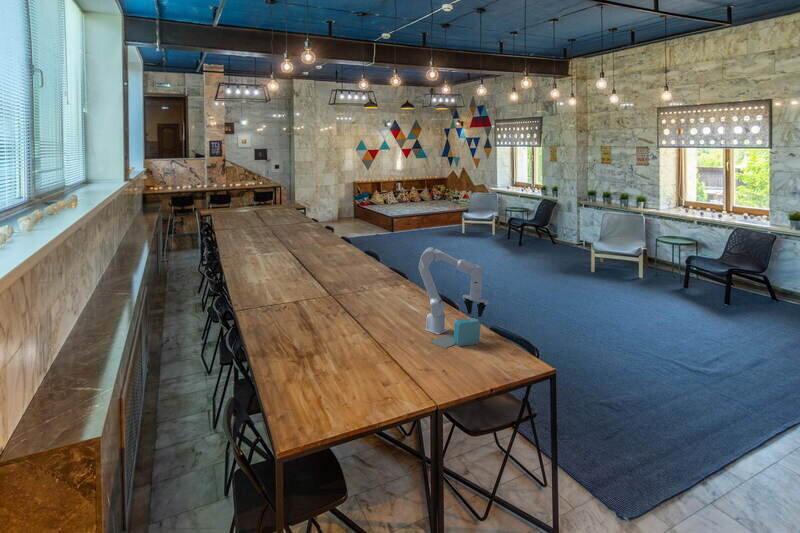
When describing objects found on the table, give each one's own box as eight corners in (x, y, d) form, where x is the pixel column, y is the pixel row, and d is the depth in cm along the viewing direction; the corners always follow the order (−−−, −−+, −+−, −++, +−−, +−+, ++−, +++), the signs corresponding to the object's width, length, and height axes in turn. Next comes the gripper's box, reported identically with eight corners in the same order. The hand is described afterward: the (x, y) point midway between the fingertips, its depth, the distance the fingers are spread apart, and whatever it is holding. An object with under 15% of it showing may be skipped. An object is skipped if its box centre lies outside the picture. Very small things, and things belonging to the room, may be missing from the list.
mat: (428, 342, 246) (428, 341, 246) (458, 330, 263) (458, 329, 263) (445, 348, 239) (445, 347, 239) (475, 335, 255) (475, 335, 255)
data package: (474, 340, 249) (476, 317, 246) (479, 343, 245) (481, 320, 242) (453, 342, 245) (454, 320, 242) (457, 346, 241) (459, 323, 238)
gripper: (492, 290, 250) (491, 316, 253) (469, 285, 260) (468, 310, 263) (484, 293, 245) (482, 319, 248) (460, 287, 255) (459, 313, 258)
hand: (474, 315), depth 255 cm, fingers open, 6 cm apart
